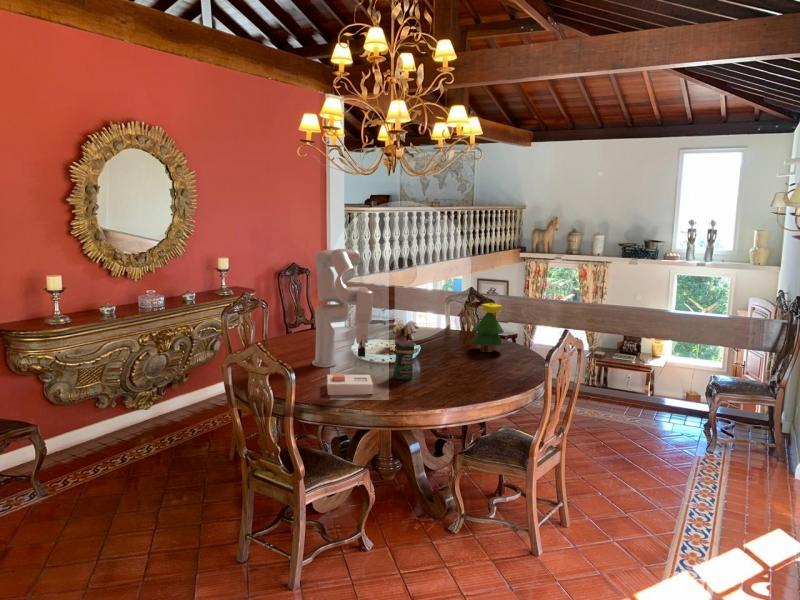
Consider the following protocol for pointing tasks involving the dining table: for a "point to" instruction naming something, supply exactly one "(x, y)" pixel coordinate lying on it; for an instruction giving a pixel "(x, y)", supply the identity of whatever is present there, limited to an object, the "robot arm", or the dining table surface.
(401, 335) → the cherub figurine
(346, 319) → the robot arm
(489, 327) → the decorative tree
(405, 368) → the coffee jar
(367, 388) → the button panel
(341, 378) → the terracotta button
